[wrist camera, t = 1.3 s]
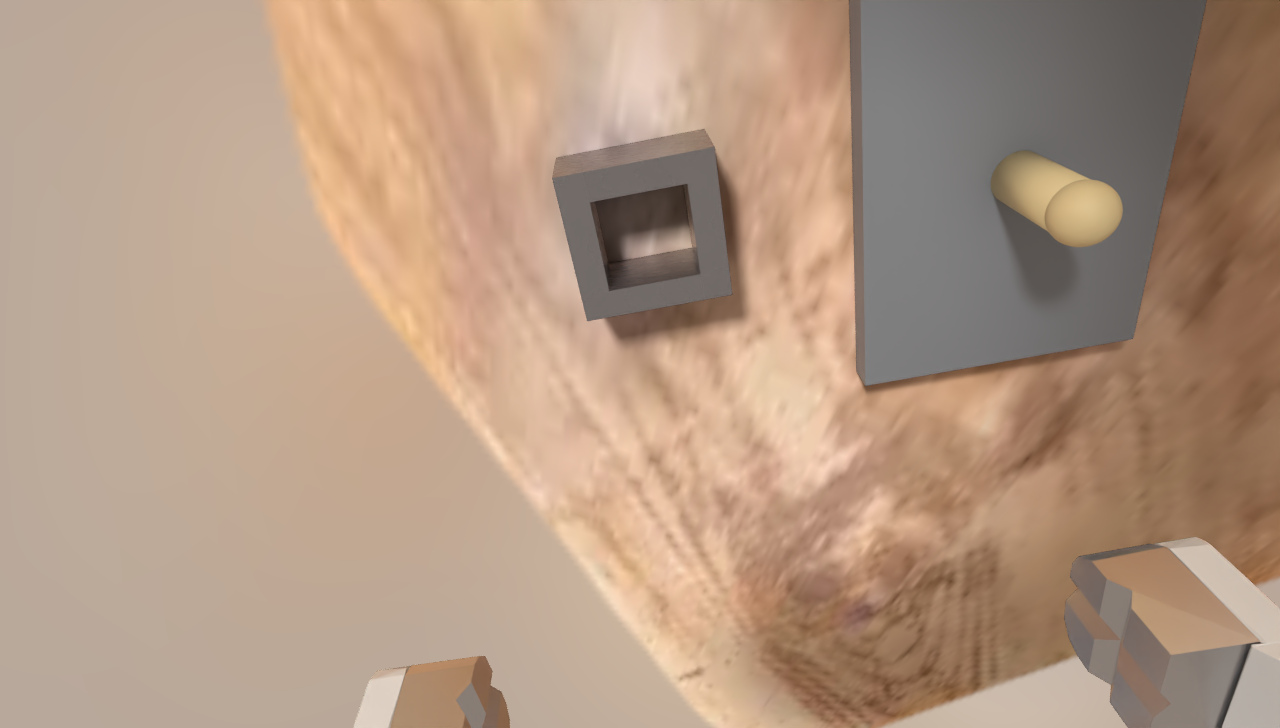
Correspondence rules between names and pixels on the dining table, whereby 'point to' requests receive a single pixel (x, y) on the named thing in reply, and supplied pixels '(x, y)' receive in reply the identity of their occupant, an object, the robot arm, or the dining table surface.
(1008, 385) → the dining table surface
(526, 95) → the dining table surface
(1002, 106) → the keeper board
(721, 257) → the hollow square frame
